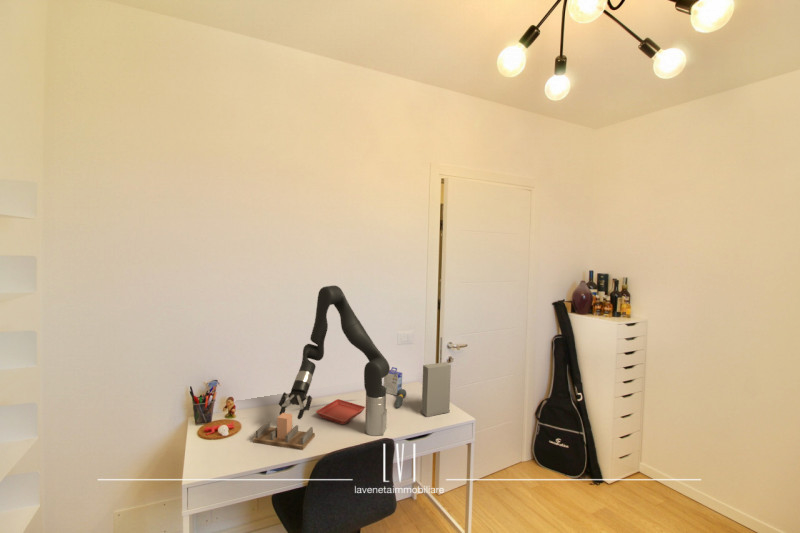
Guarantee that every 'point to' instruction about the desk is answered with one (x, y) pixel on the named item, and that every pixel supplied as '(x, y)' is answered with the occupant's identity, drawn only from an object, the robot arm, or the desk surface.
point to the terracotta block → (284, 425)
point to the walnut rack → (292, 440)
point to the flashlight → (400, 397)
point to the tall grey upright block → (436, 389)
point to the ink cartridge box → (393, 382)
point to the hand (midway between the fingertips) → (289, 417)
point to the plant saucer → (340, 411)
